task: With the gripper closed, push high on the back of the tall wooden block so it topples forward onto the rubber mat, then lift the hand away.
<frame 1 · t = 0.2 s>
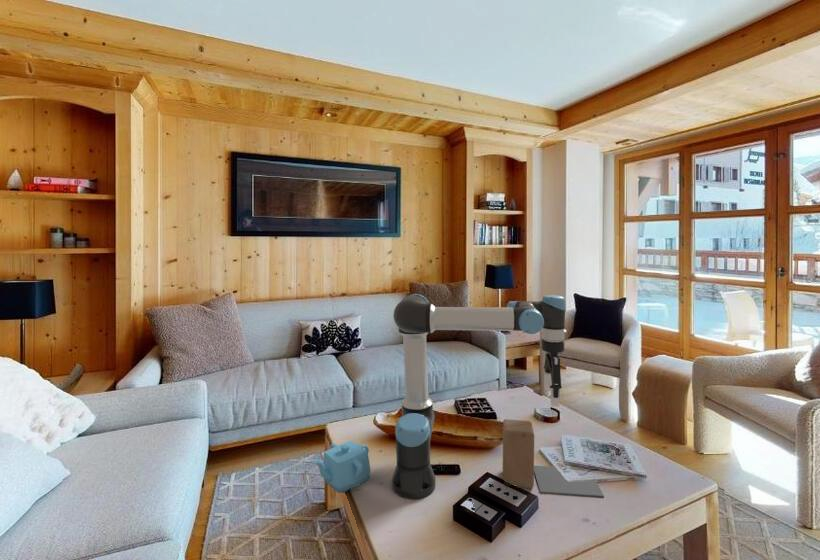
hand: (551, 397, 138), 28 cm above the table, fingers open, 13 cm apart
wooden block: (517, 480, 137), on the table
teapot: (342, 484, 136), on the table
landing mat: (565, 480, 135), on the table
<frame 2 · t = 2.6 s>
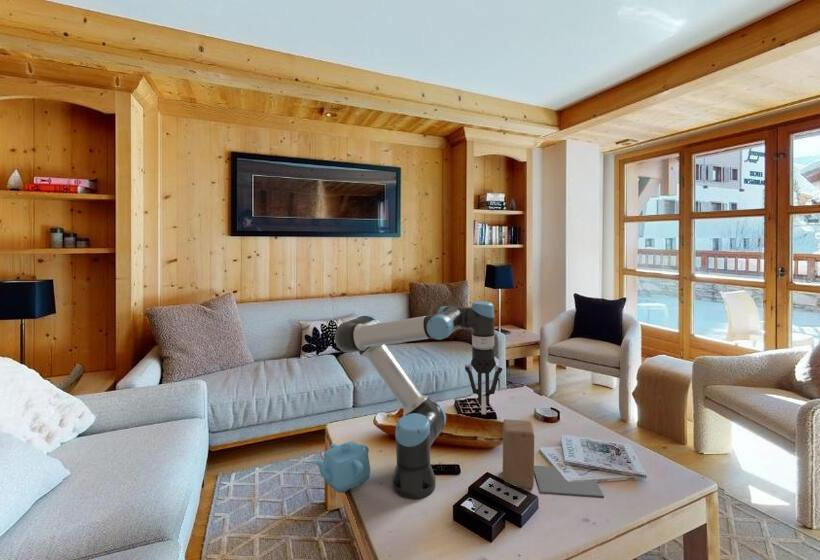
hand: (483, 412, 136), 24 cm above the table, fingers closed
nothing on the table moved.
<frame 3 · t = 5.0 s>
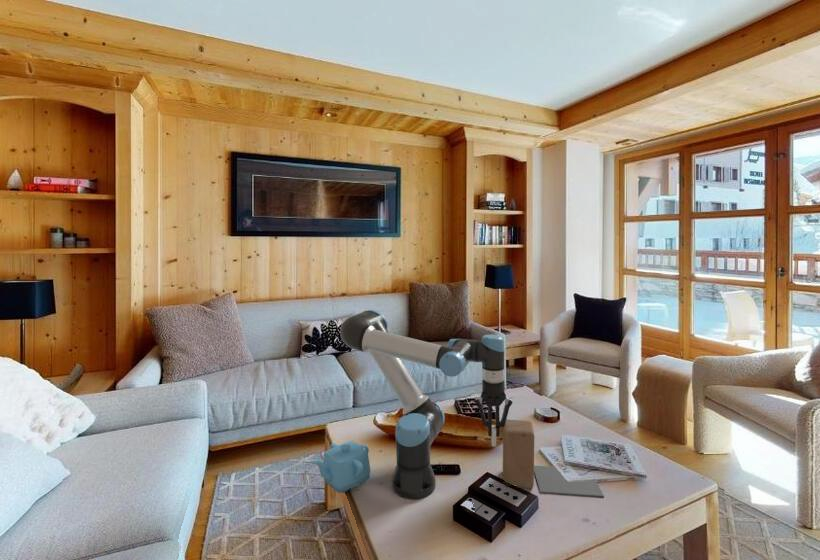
hand: (493, 444, 136), 13 cm above the table, fingers closed
wooden block: (517, 480, 137), on the table, touching gripper
everything else where it was.
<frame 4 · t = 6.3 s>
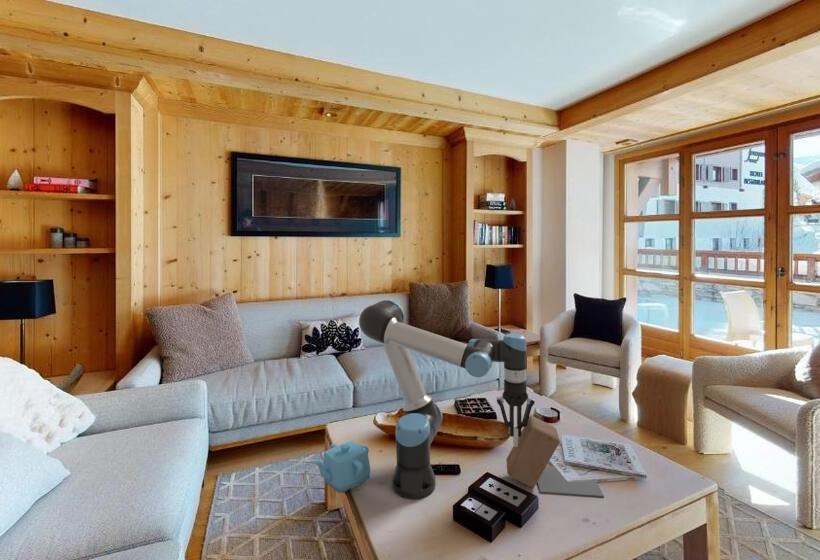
hand: (515, 444, 135), 13 cm above the table, fingers closed
wooden block: (518, 474, 136), point 2 cm above the table, touching gripper
everything else where it was.
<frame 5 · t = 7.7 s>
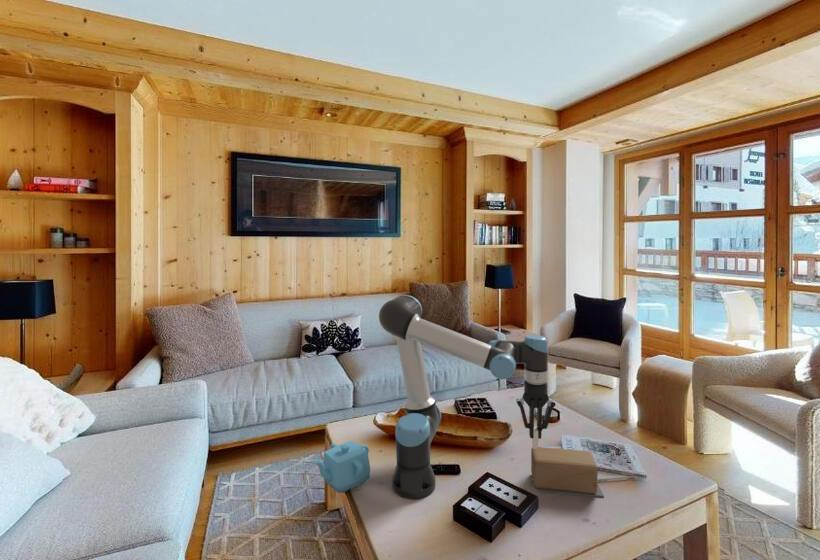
hand: (535, 446, 134), 13 cm above the table, fingers closed
wooden block: (531, 466, 135), point 6 cm above the table, touching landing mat
everything else where it was.
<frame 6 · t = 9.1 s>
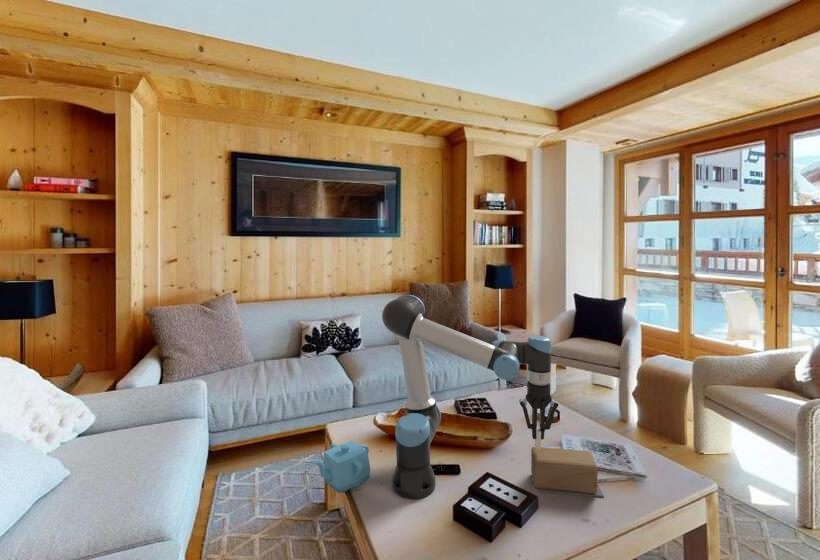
hand: (537, 447, 134), 12 cm above the table, fingers closed
nothing on the table moved.
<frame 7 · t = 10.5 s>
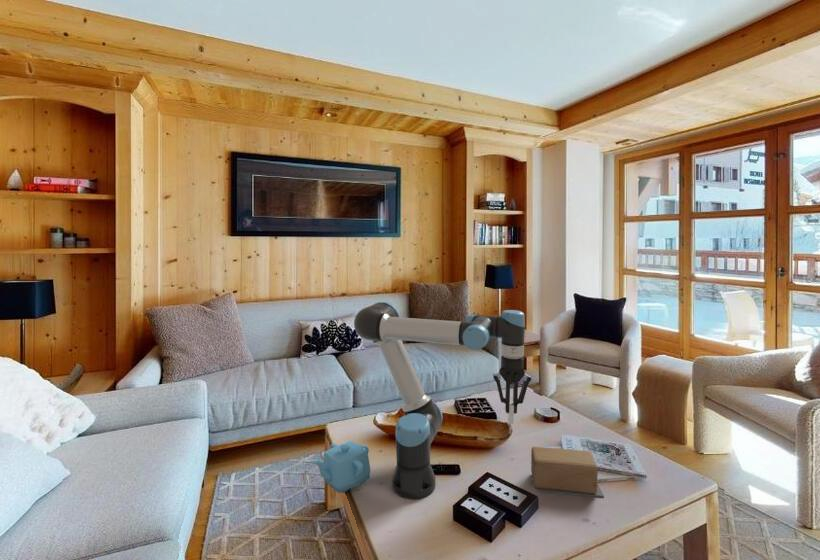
hand: (510, 421, 135), 21 cm above the table, fingers closed
nothing on the table moved.
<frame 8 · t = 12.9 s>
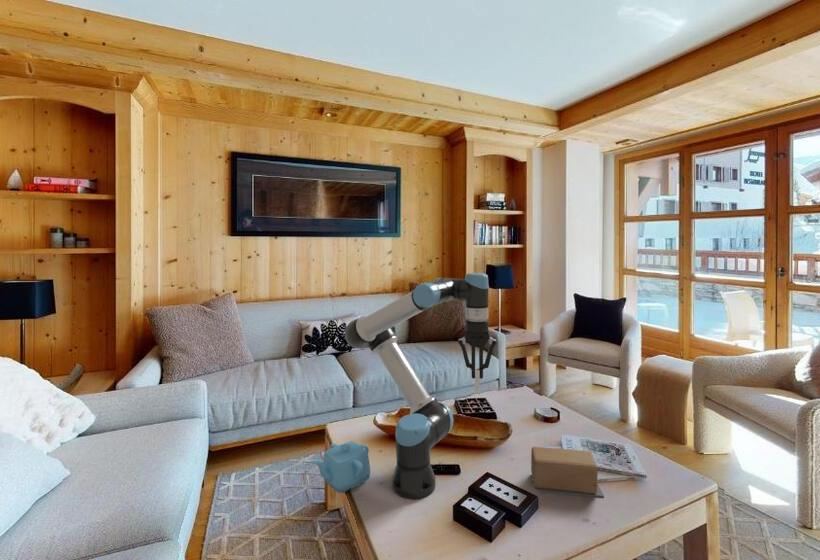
hand: (477, 387, 132), 34 cm above the table, fingers closed
nothing on the table moved.
at the end: wooden block tilted 90°; wooden block touching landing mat; wooden block moved 7.3 cm from its start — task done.
